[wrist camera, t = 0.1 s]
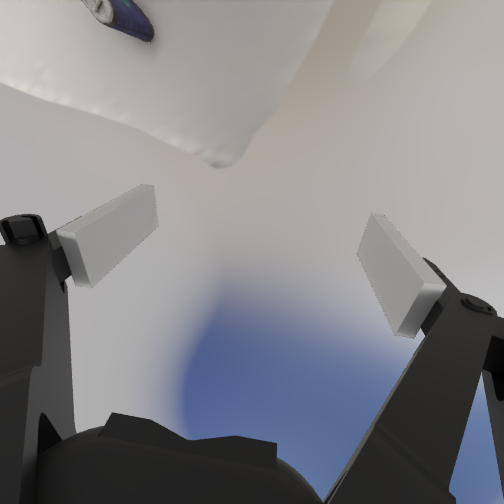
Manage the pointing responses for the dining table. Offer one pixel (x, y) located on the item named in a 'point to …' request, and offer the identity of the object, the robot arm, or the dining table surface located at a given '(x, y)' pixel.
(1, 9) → the dining table surface
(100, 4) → the flask
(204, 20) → the dining table surface
